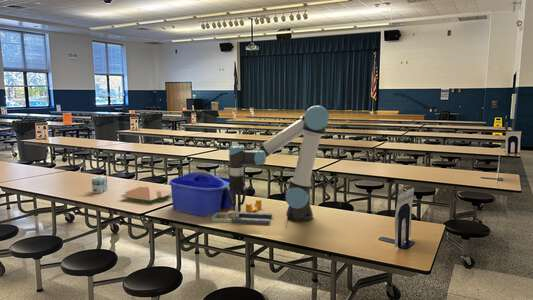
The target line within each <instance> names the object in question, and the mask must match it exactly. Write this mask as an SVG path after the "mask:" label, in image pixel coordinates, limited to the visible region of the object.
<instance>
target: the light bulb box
mask: <svg viewBox="0 0 533 300" xmlns="http://www.w3.org/2000/svg"><path fill="white" fill-rule="evenodd" d="M91 184H92V185H91V189H92V190H91V191H92V194H103V193H104V192H107V191H108V176H107V175H97V176H95V177H93V178H91Z"/></svg>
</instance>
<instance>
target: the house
mask: <svg viewBox="0 0 533 300" xmlns="http://www.w3.org/2000/svg"><path fill="white" fill-rule="evenodd" d="M124 193H125V194H122V195H120V197H125V198H127V199H128V202H132V201H133V199H135V200H137V202H138V203H139V202H140V203H141V200H142V201H143V203H147V201H148V203H149V205H151V204H152V205H153V203H154V202H157V201H158V202H160V200H163V199H166V200H169V199H168V198H170V196H171V197H172V192H171V191H169V190H164V189H160V188H155V187H149V186H138V187H136V188H133V189H130V190H127V191H125V192H124Z"/></svg>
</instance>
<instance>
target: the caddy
mask: <svg viewBox="0 0 533 300" xmlns="http://www.w3.org/2000/svg"><path fill="white" fill-rule="evenodd" d="M229 183H230V177H229V178H228V177H221V176H217V175H215V174H213V173H211V172H209V171H206V170H196V171H192V172H190V173H186V174H184V175H180V176H177V177H173V178H171V179H170V180H169V185H170V189H171V191H170V192H172V193H171V194H172V195H171V201H172V202H171V203H172V208H173V210H174V211H177V212H181V213H184V214H190V215H194V216H197V217H198V216H199V217H208V216H210V215H214V214H215V213H216V212H221V208H222V209H233V205H232V204H230V202H229V198H228V194H227V191H226V190H225V187H227V186H229ZM230 192H231V196H232V200H233V191H232V190H231V188H230Z"/></svg>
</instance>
